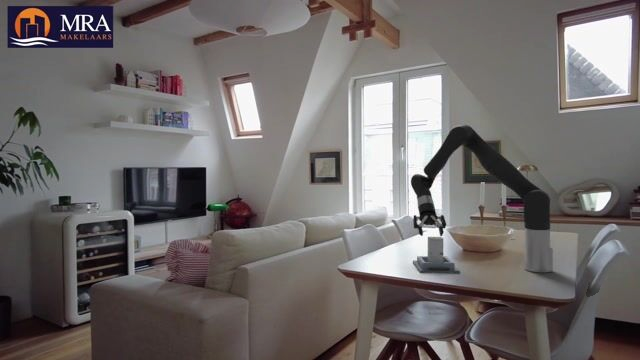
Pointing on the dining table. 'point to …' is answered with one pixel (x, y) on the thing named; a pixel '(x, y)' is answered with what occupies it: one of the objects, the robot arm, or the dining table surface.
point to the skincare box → (435, 249)
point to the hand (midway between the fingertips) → (431, 234)
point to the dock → (435, 265)
